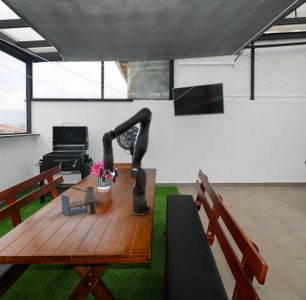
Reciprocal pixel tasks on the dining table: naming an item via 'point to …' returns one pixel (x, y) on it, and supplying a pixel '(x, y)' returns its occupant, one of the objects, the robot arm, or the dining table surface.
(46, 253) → the dining table surface
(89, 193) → the coffee pot
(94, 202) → the remote
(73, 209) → the grey u-shaped bracket
